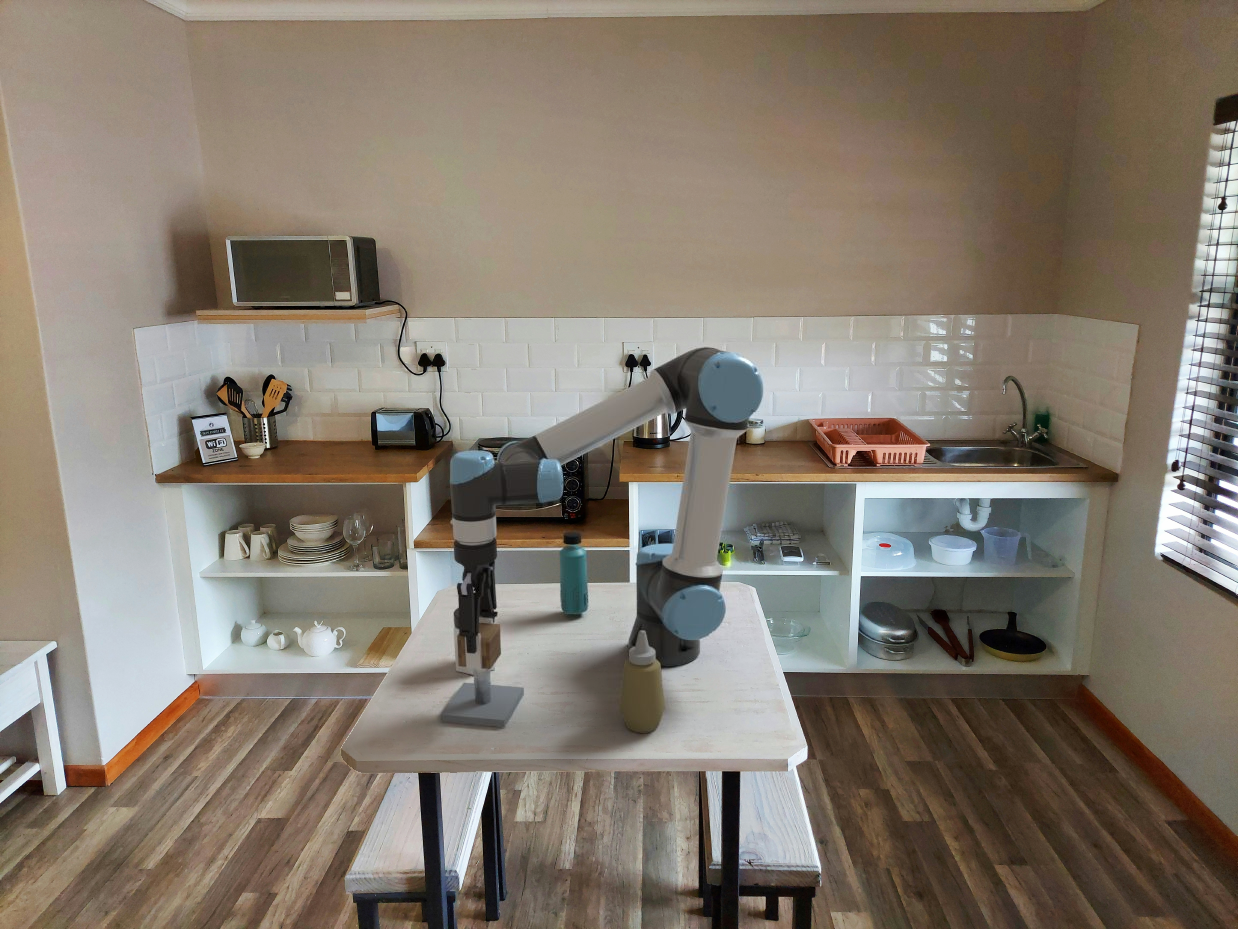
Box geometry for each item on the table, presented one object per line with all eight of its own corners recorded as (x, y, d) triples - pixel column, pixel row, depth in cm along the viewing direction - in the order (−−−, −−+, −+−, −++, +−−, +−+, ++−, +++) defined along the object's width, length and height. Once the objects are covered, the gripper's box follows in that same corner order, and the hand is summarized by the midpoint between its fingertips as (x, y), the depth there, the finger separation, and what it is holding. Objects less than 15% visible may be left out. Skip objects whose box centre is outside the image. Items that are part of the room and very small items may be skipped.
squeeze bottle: (650, 742, 148) (650, 645, 144) (611, 729, 152) (610, 635, 148) (673, 721, 155) (673, 628, 151) (634, 709, 159) (634, 618, 155)
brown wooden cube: (500, 654, 160) (500, 624, 158) (490, 669, 154) (489, 638, 153) (470, 651, 161) (468, 621, 160) (458, 666, 155) (457, 635, 154)
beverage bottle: (588, 620, 198) (586, 537, 193) (559, 620, 198) (556, 537, 193) (589, 609, 204) (587, 528, 199) (561, 609, 204) (559, 528, 199)
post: (493, 697, 161) (490, 637, 158) (488, 705, 158) (485, 645, 155) (478, 695, 161) (475, 636, 158) (472, 703, 158) (469, 643, 156)
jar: (464, 679, 171) (461, 623, 168) (448, 663, 177) (445, 609, 174) (505, 667, 176) (502, 612, 173) (488, 652, 182) (485, 599, 179)
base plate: (523, 694, 165) (523, 687, 164) (504, 727, 153) (504, 720, 153) (464, 689, 167) (463, 682, 166) (440, 721, 155) (440, 714, 155)
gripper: (473, 521, 162) (478, 635, 167) (434, 555, 144) (441, 681, 149) (511, 523, 160) (515, 638, 166) (477, 558, 142) (482, 685, 148)
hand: (480, 658), depth 158 cm, fingers closed on brown wooden cube, 6 cm apart
